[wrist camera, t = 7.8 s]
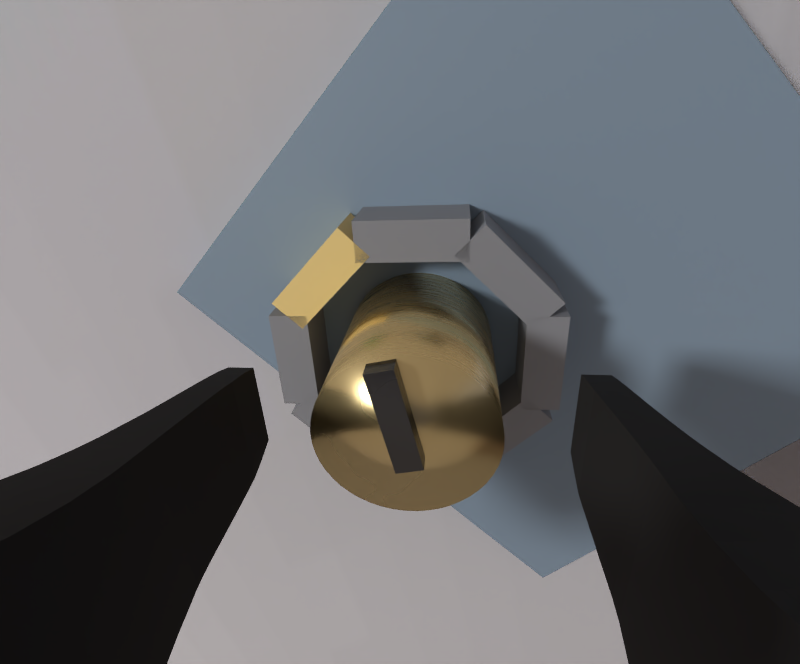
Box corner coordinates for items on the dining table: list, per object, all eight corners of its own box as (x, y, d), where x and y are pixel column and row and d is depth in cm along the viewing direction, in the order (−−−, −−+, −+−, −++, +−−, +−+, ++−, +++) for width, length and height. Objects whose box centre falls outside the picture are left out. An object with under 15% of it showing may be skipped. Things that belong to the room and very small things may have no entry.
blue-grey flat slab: (944, 324, 13) (1042, 372, 11) (539, 554, 19) (549, 617, 17) (551, -202, 9) (579, -290, 7) (193, 280, 15) (147, 313, 13)
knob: (501, 385, 14) (520, 515, 10) (373, 405, 15) (339, 533, 11) (477, 258, 13) (486, 348, 8) (334, 288, 14) (276, 384, 9)
